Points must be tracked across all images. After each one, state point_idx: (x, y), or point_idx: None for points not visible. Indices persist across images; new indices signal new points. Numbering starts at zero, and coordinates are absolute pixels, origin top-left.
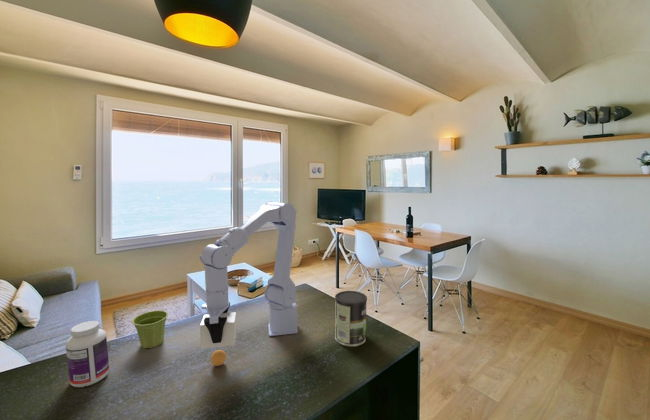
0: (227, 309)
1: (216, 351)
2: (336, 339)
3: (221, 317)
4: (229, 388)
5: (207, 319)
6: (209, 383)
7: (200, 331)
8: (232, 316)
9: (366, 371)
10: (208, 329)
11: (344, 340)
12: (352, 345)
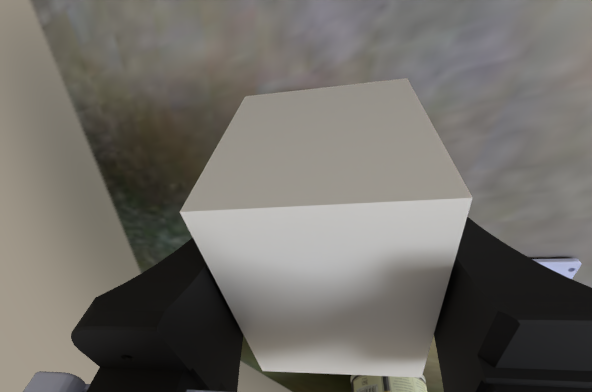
0: (443, 380)
1: None
2: None
3: (344, 326)
4: (196, 173)
5: (125, 347)
6: (211, 104)
7: (204, 170)
8: (349, 367)
9: (270, 372)
10: (161, 263)
11: (359, 382)
12: (351, 378)
